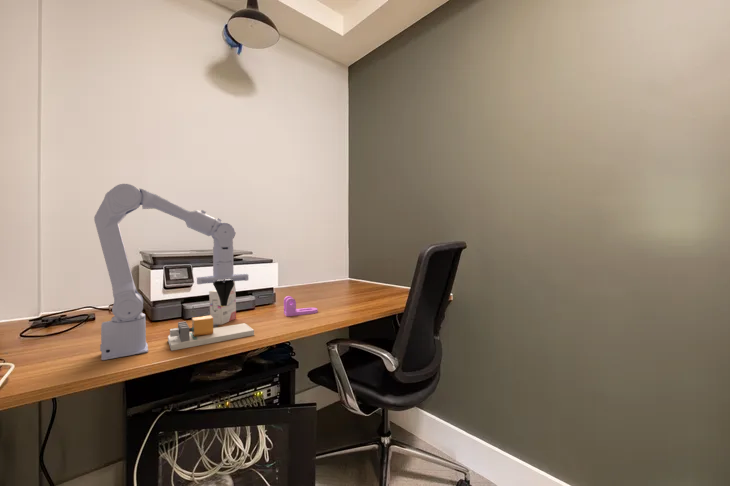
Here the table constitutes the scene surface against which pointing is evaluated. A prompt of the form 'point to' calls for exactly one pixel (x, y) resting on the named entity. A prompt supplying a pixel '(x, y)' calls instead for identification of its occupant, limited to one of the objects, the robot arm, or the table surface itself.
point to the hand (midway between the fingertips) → (223, 305)
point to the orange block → (202, 325)
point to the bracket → (291, 308)
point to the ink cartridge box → (222, 307)
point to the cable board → (185, 338)
